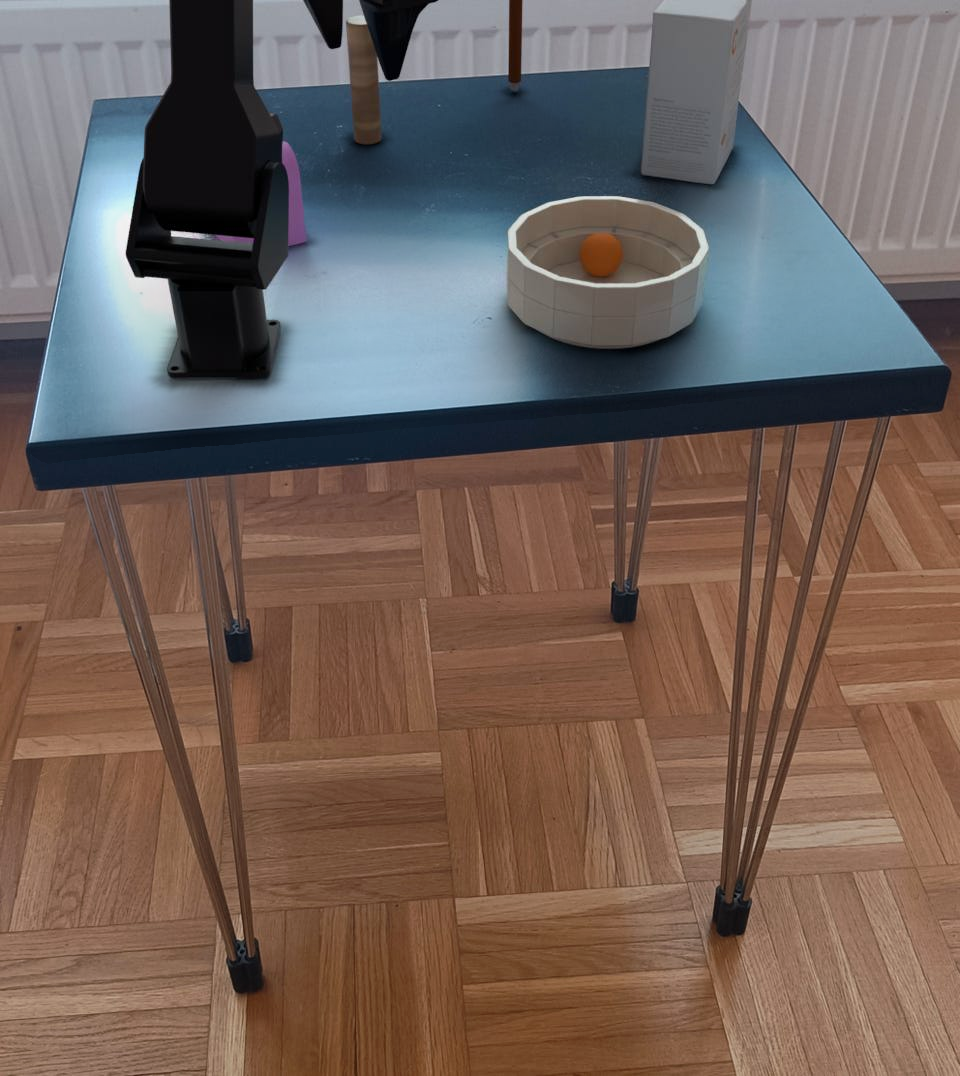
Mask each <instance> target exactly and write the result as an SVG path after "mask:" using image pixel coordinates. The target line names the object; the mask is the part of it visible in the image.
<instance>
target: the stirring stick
mask: <svg viewBox="0 0 960 1076" xmlns="http://www.w3.org/2000/svg"><path fill="white" fill-rule="evenodd" d="M345 27H346V28H345V29H346V43H347V59H348V71H349V72H348V73H349V86H350V101H351V114H352V131H353V140H354V142H355V143H357V144H361V145H374V144H378V143H380V142H381V141H382V139H383V137H382V134H383V133H382V121H381V120H382V117H381V116H382V115H381V99H380V81H379V78H380V77H379V60H378V57H377V54H376V51H375V48H374V45H373V42H372V38H371V35H370V32H369V29H368V26H367V23H366V20H365V17H364V15H354V16H350V17H348V18H346V19H345Z"/></svg>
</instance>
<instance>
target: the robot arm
mask: <svg viewBox="0 0 960 1076" xmlns="http://www.w3.org/2000/svg"><path fill="white" fill-rule="evenodd" d="M168 1H169V3H168V4H169V37H170V39H169V41H170V82H169V84H168V86H167V88H166V90H165V92H164V93H163V94H162V96H161V98H160V100H159V102H158V103H157V105H156V106H155V109H154V111H153V112H152V114H151V116H150V118H149V119H148V120H147V123H146V124H145V127H144V133H143V134H144V137H143V158H142V159H141V162H140V165H139V168H138V169H139V170H138V174H137V181H136V186H135V193H134V200H133V204H132V209H131V210H132V211H131V217H130V222H129V229H128V235H127V241H126V247H125V257H126V260H127V262H128V264H129V266H130V269H131V272H132V274H133V276H134V278H138V279H139V278H141V279H144V278H154V279H164V280H167V284H168V289H169V294H170V300H171V306H172V311H173V316H174V317H173V318H174V322H175V328H176V334H177V339H176V342H175V344H174V347H173V350H172V353H171V356H170V358H169V362H168V363H167V368H166V372H167V376H168V377H169V378H171V379H264V378H268V377H270V376H271V374H272V371H273V365H274V361H275V357H276V352H277V347H278V343H279V339H280V335H281V330H282V326H281V321H279V320H278V319H268V318H267V312H266V305H265V297H264V291H265V290H267V289H268V288H269V286H270V284H271V283H272V281H273V279H274V278H275V277H276V275H277V273H278V272H279V271H280V269H281V268H282V266H283V264H284V263H285V262H286V260H287V259H288V257H289V246H288V229H289V181H288V175H287V171H286V168H285V166H284V164H282V142H283V141H284V140H283V139H284V128H283V125H282V123H281V120H280V118H279V116H278V114H277V113H270V112H269V110H268V109H267V107H266V105H265V102H264V101H263V100H262V98H261V96H260V94H259V92H258V91H257V89H256V87H255V82H254V81H255V80H254V0H168ZM302 1H303V3H304V5H305V7H306V8H307V11H308V12H309V14H310V16H311V18H312V20H313V22H314V23H315V25H316V27H317V30H318V31H319V33H320V35H321V37H322V38H323V40H324V42H325V45H326V46H327V48H329V49H330V50H336V49H340V48H341V47H342V44H343V43H342V42H343V32H344V31H343V29H344V27H343V26H344V0H302ZM358 2H359V5H360V7H361V12H362V14H363V16H364V17H365V20H366V23H367V26H368V29H369V32H370V35H371V38H372V42H373V45H374V48H375V51H376V54H377V59H378V64H379V65H380V68H381V71H382V73H383V77H384V79H385V80H386V81H388V82H391V81H395V80H398V79H399V78H400V76H401V73H402V69H403V65H404V63H405V58H406V54H407V50H408V48H409V45H410V41H411V39H412V34H413V31H414V29H415V26H416V24H417V21H418V18H419V16H420V14H421V13H422V12H423V11H424V10H425V8H426V7H428V5H430V4H433V3H437V2H439V0H358ZM172 232H179V233H190V234H199V235H200V234H202V235H213V236H215V235H222V236H233V237H244V238H254V240H253V243H242V242H231V241H220V240H219V239H207V238H196V237H185V236H184V237H183V236H174V235H172Z"/></svg>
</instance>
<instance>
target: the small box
mask: <svg viewBox="0 0 960 1076" xmlns="http://www.w3.org/2000/svg"><path fill="white" fill-rule="evenodd" d="M752 2H753V0H662V1H661V2H660V4H658V6H656V9H654V11H653V12H652V27H651V38H650V50H649V51H650V53H649V64H648V66H649V67H648V77H647V90H646V103H645V113H644V114H645V115H644V127H643V128H644V129H643V140H642V151H641V153H642V154H641V162H640V163H641V164H640V165H641V166H640V173H641V175H642V176H649V177H655V178H662V179H670V180H675V181H682V182H683V181H684V182H689V183H690V182H691V183H697V184H705V185H714V184H716V182H717V180H718V178H719V176H720V174H721V172H722V171H723V168H724V166H725V164H726V163H727V161H728V159H729V157H730V154H731V153H732V150H733V149H734V146H735V145H734V143H735V136H736V126H737V118H738V110H739V102H740V101H739V100H740V92H741V87H742V86H741V85H742V77H743V71H744V64H745V57H746V49H747V43H748V34H749V25H750V19H751V12H752V11H751V10H752V4H753V3H752Z"/></svg>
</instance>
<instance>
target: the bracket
mask: <svg viewBox="0 0 960 1076" xmlns="http://www.w3.org/2000/svg"><path fill="white" fill-rule="evenodd" d="M282 164H284V166H285V168H286V171H287V175H288V181H289V229H288V247H291V246H296V245H300V244H305V243H307V234H306V233H307V232H306V224H305V222H306V221H305V212H304V201H303V192H302V183H301V174H300V173H301V172H300V167H299V164H298V160H297V157H296V155H295V151H294V150H293V148H292V147H291V145H290V144H289V143H288V142H287V141H284V140H283V142H282ZM214 236H215V238H216V239H217V240H220V241H231V242H242V243H253V240H254V238H244V237H233V236H222V235H214Z"/></svg>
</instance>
